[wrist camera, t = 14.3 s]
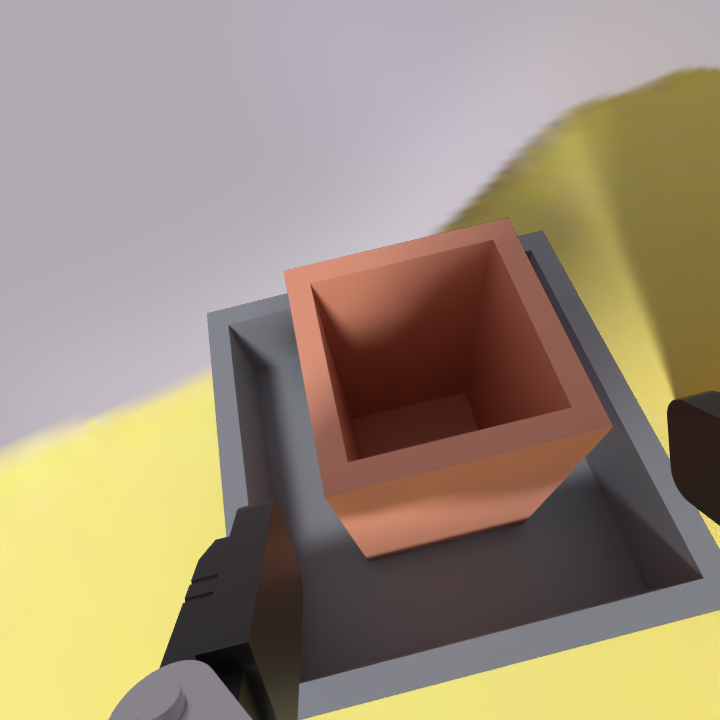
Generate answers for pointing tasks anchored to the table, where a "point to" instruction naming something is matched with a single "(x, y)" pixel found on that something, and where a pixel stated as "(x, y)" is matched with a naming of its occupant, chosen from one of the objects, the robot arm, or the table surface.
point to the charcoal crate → (467, 555)
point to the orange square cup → (439, 388)
